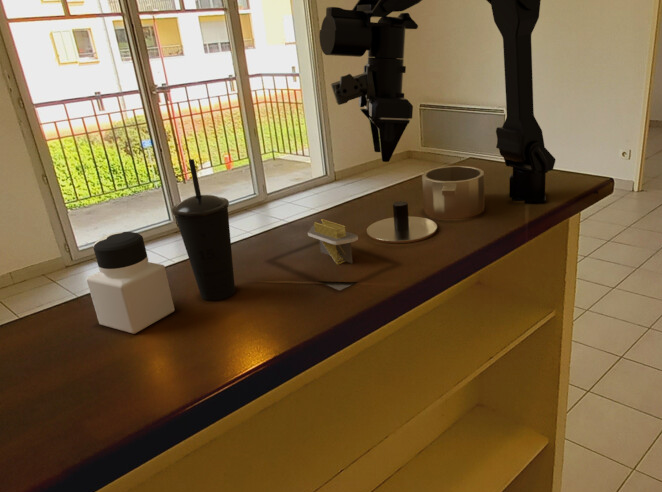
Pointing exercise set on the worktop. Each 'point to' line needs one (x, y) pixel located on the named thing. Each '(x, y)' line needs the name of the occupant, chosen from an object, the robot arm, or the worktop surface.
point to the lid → (401, 227)
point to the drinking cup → (207, 241)
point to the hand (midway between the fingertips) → (381, 156)
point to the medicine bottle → (128, 284)
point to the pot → (453, 192)
